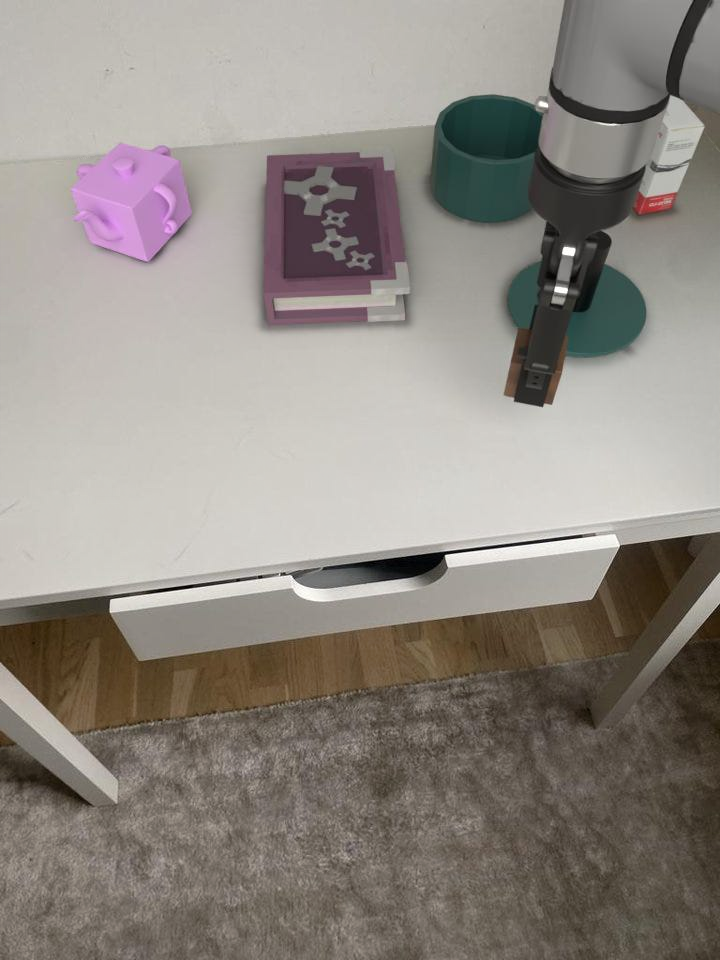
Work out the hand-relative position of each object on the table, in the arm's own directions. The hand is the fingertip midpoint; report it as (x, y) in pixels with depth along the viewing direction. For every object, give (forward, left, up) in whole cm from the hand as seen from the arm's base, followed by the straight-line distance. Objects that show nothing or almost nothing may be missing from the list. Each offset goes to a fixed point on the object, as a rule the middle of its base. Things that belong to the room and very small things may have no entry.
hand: (532, 380), depth 71 cm
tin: (+10, -40, -9) cm, 42 cm away
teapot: (+51, -19, -9) cm, 56 cm away
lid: (-4, -20, -9) cm, 22 cm away
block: (0, 0, 0) cm, 0 cm away
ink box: (-10, -44, -9) cm, 46 cm away
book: (+26, -23, -9) cm, 36 cm away
